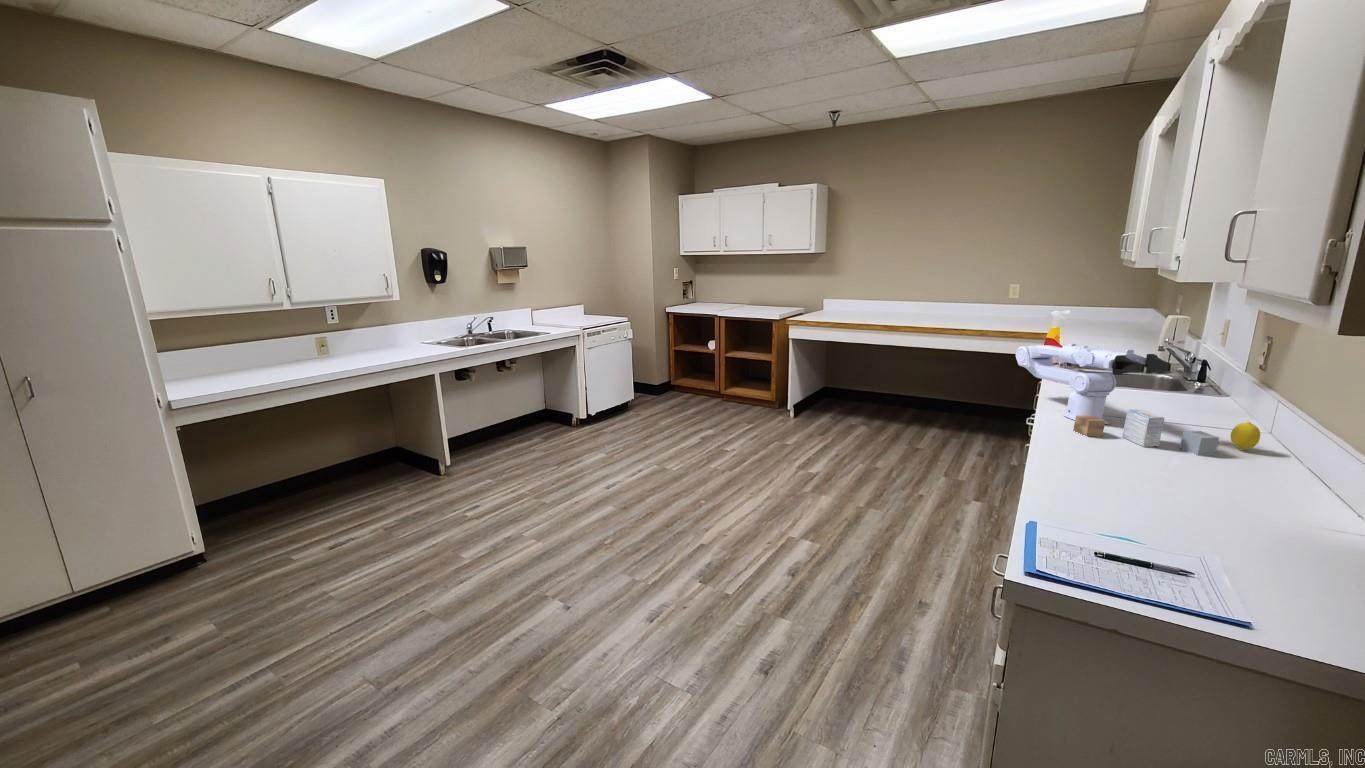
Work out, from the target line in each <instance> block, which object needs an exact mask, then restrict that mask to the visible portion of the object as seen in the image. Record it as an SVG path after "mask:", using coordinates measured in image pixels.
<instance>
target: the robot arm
mask: <svg viewBox="0 0 1365 768" xmlns="http://www.w3.org/2000/svg"><path fill="white" fill-rule="evenodd" d="M1134 352H1135V350H1134V349H1130V348H1129V349H1125V352H1121V351H1116V350H1107V349H1103V348H1102V347H1100V346H1097V347H1096V346H1095V347H1088V345H1081V346H1079V345H1076V343H1068V344H1066V345H1063V347H1060V346H1054V345H1050V344H1047V345H1043V344H1042V345H1039V344H1038V345H1027V346H1024V345H1022V346H1019V347H1018V348H1017V349H1016V352H1015V358H1016V361H1017V365H1018V366H1019V367H1023V368H1025V369H1026V370H1027V371H1028V372H1029V373H1030V374H1032V375H1033V376H1034V377H1035V378H1037V379H1042V380H1046V381H1049V382H1054V383H1059V384H1063V385H1068V386H1069V388H1070V389H1071V388H1072V389H1074V390H1073V391H1072V392H1071V393H1070V395H1069V396H1068V401H1067V407H1066V411H1065V413H1064V414H1062V416H1063V417H1065V418H1068V419H1070V420H1073V421H1075V418H1076V416H1077V415H1093V416H1096V417H1098V418H1101V419H1103V417H1104V411H1105V405H1106V401H1107V396H1110V393H1112V392H1113V391H1114V390H1115V389H1116V386H1117V379H1116V377H1115V375H1117V376H1118V375H1120V376H1121V375H1124V374H1125V375H1130V374H1133V373H1134V374H1135V373H1144V372H1145V374H1155V373H1157V372H1170V371H1171V367H1172V366H1171V365H1172V363H1170V362H1167V361H1166V360H1163V359H1161V358H1160V357H1159V356H1158V355H1157V354H1154V353H1146V356H1145V357H1144V356H1141V355H1138V354H1136V353H1134ZM1053 358H1059V359H1060V361H1061V362H1064V363H1068V364H1074V365H1079V367H1080V368H1082V367H1093V368H1097V369H1103V370H1106V371H1107V370H1108V371H1112V373H1111V372H1108V371H1107V372H1106V371H1105V372H1097V373H1095V372H1083V371H1078V370H1074V369H1069V368H1063V367H1058V366H1054V360H1053ZM1145 370H1146V371H1145ZM1109 424H1110V422H1108V421H1106V420H1105V425H1109Z"/></svg>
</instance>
